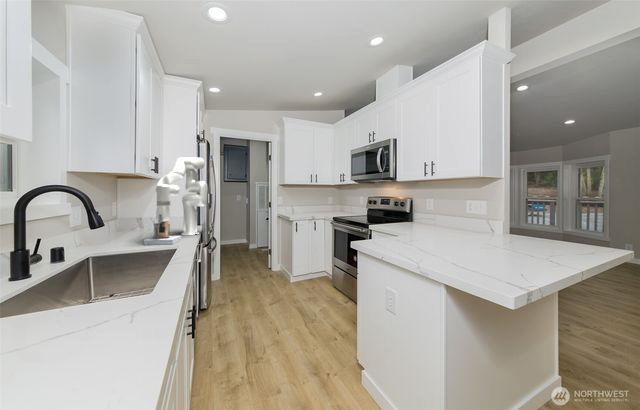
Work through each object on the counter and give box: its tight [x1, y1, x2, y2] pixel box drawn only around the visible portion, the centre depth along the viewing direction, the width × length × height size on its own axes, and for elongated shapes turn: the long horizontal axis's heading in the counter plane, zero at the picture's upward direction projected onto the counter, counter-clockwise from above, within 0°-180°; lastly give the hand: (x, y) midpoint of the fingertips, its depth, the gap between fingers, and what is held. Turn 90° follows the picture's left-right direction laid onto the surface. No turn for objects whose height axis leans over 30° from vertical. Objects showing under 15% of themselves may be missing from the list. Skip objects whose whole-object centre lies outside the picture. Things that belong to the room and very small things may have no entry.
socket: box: [143, 235, 182, 246], centre depth 164 cm, size 16×16×3 cm
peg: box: [157, 220, 170, 238], centre depth 163 cm, size 4×4×10 cm
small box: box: [153, 222, 171, 237], centre depth 180 cm, size 11×6×10 cm, turn 56°
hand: (163, 231), depth 163 cm, fingers closed on peg, 4 cm apart
